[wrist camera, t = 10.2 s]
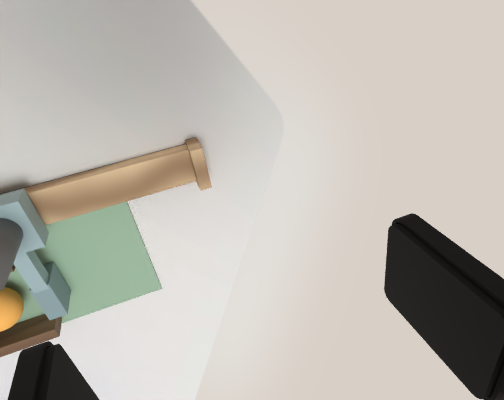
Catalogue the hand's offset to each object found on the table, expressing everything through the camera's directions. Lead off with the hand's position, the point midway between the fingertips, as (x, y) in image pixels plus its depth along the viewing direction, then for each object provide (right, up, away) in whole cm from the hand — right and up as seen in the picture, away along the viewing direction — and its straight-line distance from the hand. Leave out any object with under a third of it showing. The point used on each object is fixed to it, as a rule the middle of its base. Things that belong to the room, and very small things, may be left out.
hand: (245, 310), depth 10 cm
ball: (-26, -9, +25) cm, 37 cm away
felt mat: (-21, -5, +29) cm, 37 cm away
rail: (-16, +4, +26) cm, 31 cm away
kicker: (-22, -2, +27) cm, 34 cm away
